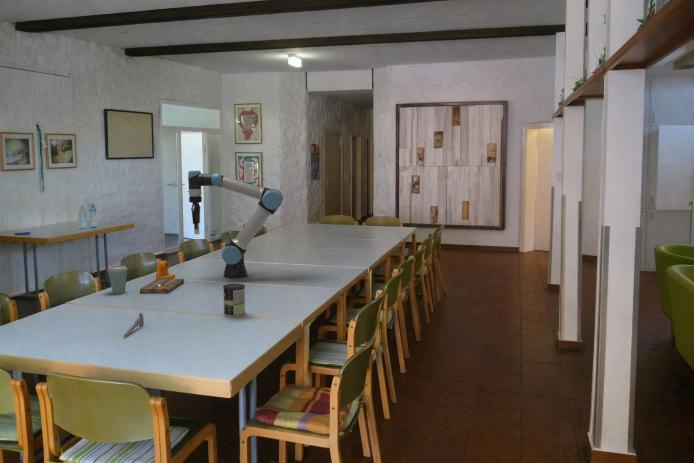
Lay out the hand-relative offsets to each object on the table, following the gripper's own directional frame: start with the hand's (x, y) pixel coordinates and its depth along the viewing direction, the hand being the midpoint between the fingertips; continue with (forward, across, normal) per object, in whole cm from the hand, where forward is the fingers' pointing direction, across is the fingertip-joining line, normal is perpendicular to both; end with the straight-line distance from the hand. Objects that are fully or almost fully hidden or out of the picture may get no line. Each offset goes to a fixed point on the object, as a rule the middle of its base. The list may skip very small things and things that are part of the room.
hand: (196, 234), depth 370 cm
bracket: (+29, -3, -21) cm, 36 cm away
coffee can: (+30, +82, +38) cm, 96 cm away
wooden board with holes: (+29, +22, -16) cm, 39 cm away
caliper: (+30, +112, 0) cm, 116 cm away
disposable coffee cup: (+29, +34, -37) cm, 58 cm away
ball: (+27, +28, -16) cm, 42 cm away
